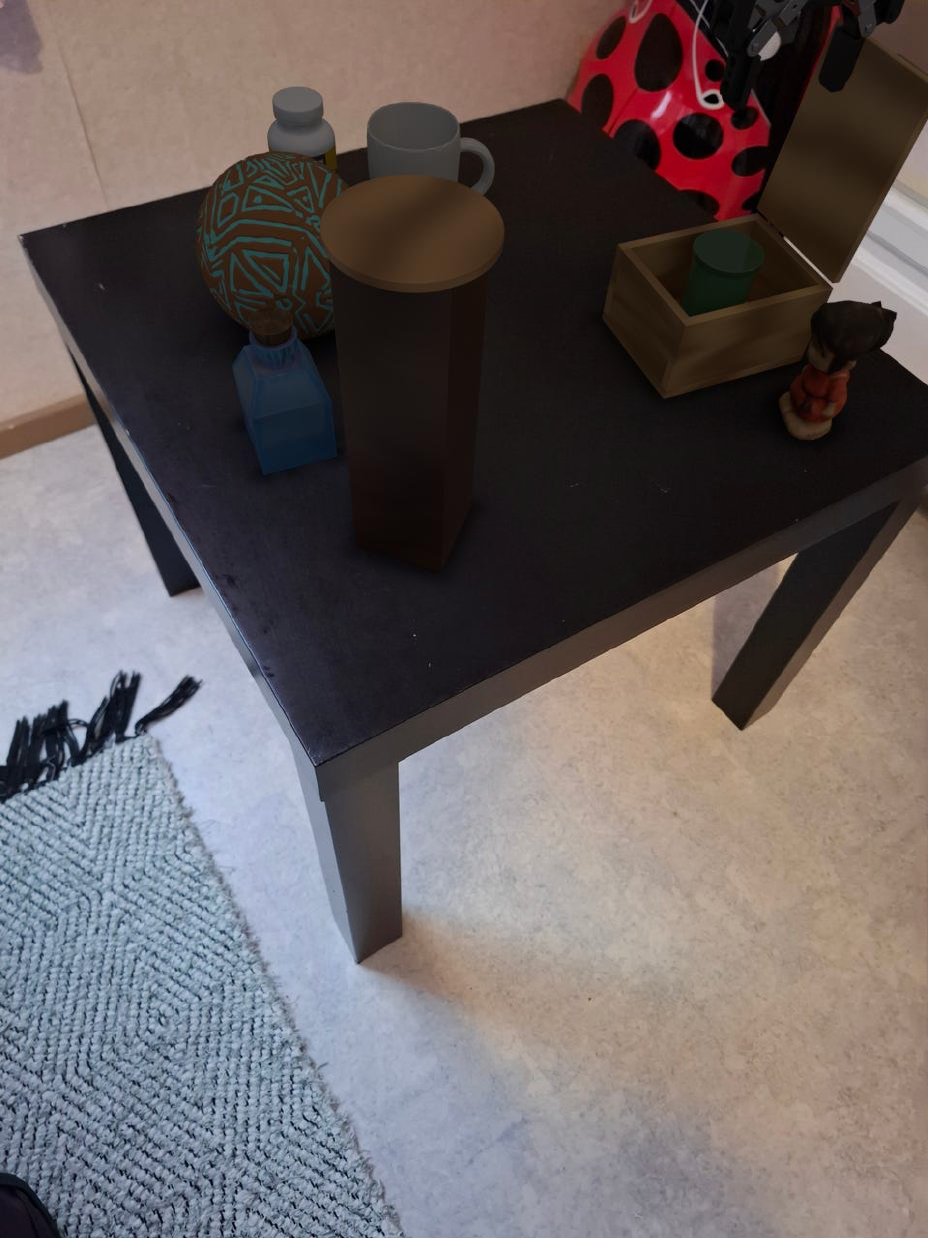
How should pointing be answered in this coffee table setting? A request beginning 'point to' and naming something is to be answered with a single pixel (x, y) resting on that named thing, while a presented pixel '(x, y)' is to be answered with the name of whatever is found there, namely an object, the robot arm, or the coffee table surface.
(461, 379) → the tall pedestal column
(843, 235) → the lid
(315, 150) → the pill bottle
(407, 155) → the mug
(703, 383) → the chest
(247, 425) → the perfume bottle
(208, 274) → the decorative sphere
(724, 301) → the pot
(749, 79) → the robot arm
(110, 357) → the coffee table surface
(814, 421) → the figurine
